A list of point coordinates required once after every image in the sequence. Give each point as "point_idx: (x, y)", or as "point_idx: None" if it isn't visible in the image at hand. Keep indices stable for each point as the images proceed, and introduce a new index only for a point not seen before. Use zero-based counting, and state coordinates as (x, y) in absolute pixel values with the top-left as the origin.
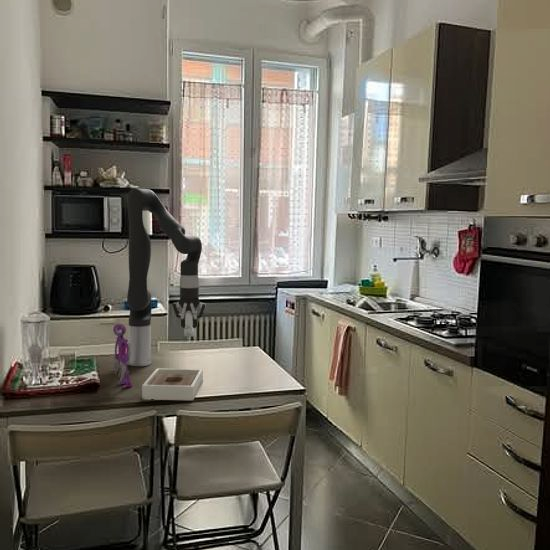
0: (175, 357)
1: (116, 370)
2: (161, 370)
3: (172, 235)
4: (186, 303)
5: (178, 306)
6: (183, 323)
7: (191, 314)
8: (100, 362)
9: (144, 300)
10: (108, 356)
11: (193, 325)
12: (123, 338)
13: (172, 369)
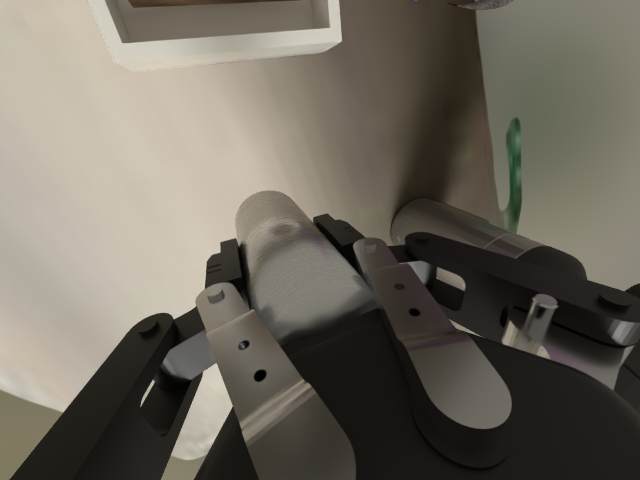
0: None
1: (473, 6)
2: (317, 30)
3: None
4: (462, 425)
5: (512, 336)
6: (331, 227)
7: (271, 295)
8: (495, 204)
9: None
10: None
11: (241, 251)
12: None
13: (269, 32)
